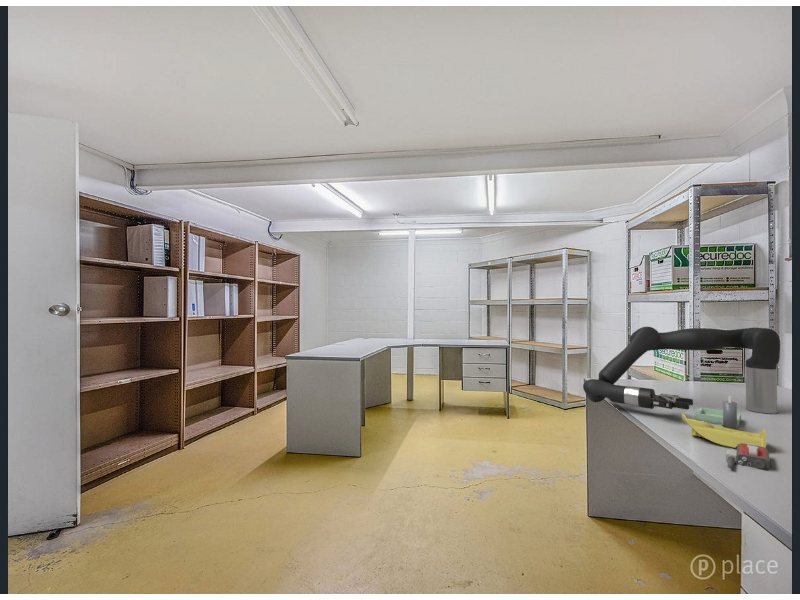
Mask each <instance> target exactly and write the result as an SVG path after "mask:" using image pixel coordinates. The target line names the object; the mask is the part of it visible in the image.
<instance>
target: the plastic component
mask: <svg viewBox="0 0 800 600" xmlns="http://www.w3.org/2000/svg"><path fill="white" fill-rule="evenodd" d="M681 418H682V421H683V422H684V423H685V424H687V425H689V427H690V428H691V437H694V436H699V437H702V438H701V439H704V438H705V439H706V440H708V441H711V442H712V443H714V444H717V445H721V446H724V447H727V448H732V449H733V448H734V449H735V448H736V446H737V444H741V443H744V444H747V443H748V444H754V445H758V446H761V447H764V448H765V449H767V448H766V447H767V430H766V429H762V430H761V431H760V433H754V432H753V433H752V432H748V431H743V430H738V429H737V430H734V429H729V428H724V427H723V426H720V425H716V424H712V423H707V422H702V421H699V420H695V418H693V419H692V418H687V416H686V415H685V413H681ZM699 437H698V438H699Z"/></svg>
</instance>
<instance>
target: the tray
mask: <svg viewBox="0 0 800 600" xmlns="http://www.w3.org/2000/svg"><path fill="white" fill-rule="evenodd" d="M694 419H695V420H699V421H704V422H706V423H707V422H709V424H713V423H714V424H713V425H719V424H720V425H721V426H723V410H719V409H713V408H707V407H698V409H697V410H696V411H695V413H694ZM741 421H742V413H740V412H737V427H738V428H737V429H739V428H740V426H741V425H740V424H741ZM720 425H719V426H720Z"/></svg>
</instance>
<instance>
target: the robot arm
mask: <svg viewBox="0 0 800 600" xmlns="http://www.w3.org/2000/svg"><path fill="white" fill-rule="evenodd" d="M628 341H629V343H628V344H627V346H626V347H625V348H624V349H623V350H622V351H620V352H619V353H618V354H617V355H615V356H614V357H613V358H612V359H611V360H610V361H609V362H608V363H607V364H606V365H605V366H603V368H602V369H601V370H600V371H599V372H598V379H596V378H591V379H587V380H585V381H584V382H583V385H582V387H583V388H582V389H583V391H584V394H586V396H587V398H588V400H589V401H590V402H592V403H600V402H602V401H604V400H605V399H606V398H607V399H608V400H609V401H611V402H612V403H616V404H620V405H621V404H622V405H628V406H631V407H637V408H643V409H649V410H653V409H654V408H655V407H658V408H662V409H663V408H664V409H669V410H673V409H679V410H680V409H681V410H686V411H687V410H690V406H693V405H694V400H693V398H688V397H681V396H680V395H678V394H677V395H676V394H668V393H667V394H666V393H660V394H659V395H658V394H656V392H655V391H656V390H654V389H653V388H649V387H640V386H633V385H632V386H628V385H627V386H626V385H619V384H617V385H616V382H618V381H619V380H620V379H621V377H623V376H624V375H625V373H626V372H627V371H629V369H630V368H631V367H632V365H634V363H635V362H636V361H638V360H639V359H640V357H642V356H643V355H644V354H646V353H647V352H648V351H660V350H674V351H675V350H679V351H714V350H720V349H724V348H725V349H726V348H733V349H735V348H736V349H746V350H751V356H750V357H749V358H747V359H746V360H745V409H746V410H748V411H751V412H756V413H761V414H772V415H773V414H777V413H778V376H777V375H778V370H777V368H778V364H779V361H780V356H781V339H780V336H779V334H778V333H777V332H776V331H775V330H774V329H771V328H768V327H747V328H738V329H722V328H721V329H720V328H709V327H697V328H696V327H694V328H693V327H692V328H683V329H678V330H672V331H666V332H665V331H664V332H659V331H658V330H657V329H655V328H654V327H652V326H642V327H639V328H638V329H636V330H635V331H634V332H633V333H632V334H631V335H630V336H629V340H628Z"/></svg>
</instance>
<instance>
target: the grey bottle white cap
mask: <svg viewBox="0 0 800 600" xmlns="http://www.w3.org/2000/svg"><path fill="white" fill-rule="evenodd" d="M732 399H733V398H732V396H731V395H728V396H727V400H726V401H725V400H723V401H722V411H723V425H722V427H724V428H729V429H734V430H738V428H737V413H738V406H737V405H738V403H737V402H734V401H732Z"/></svg>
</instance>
